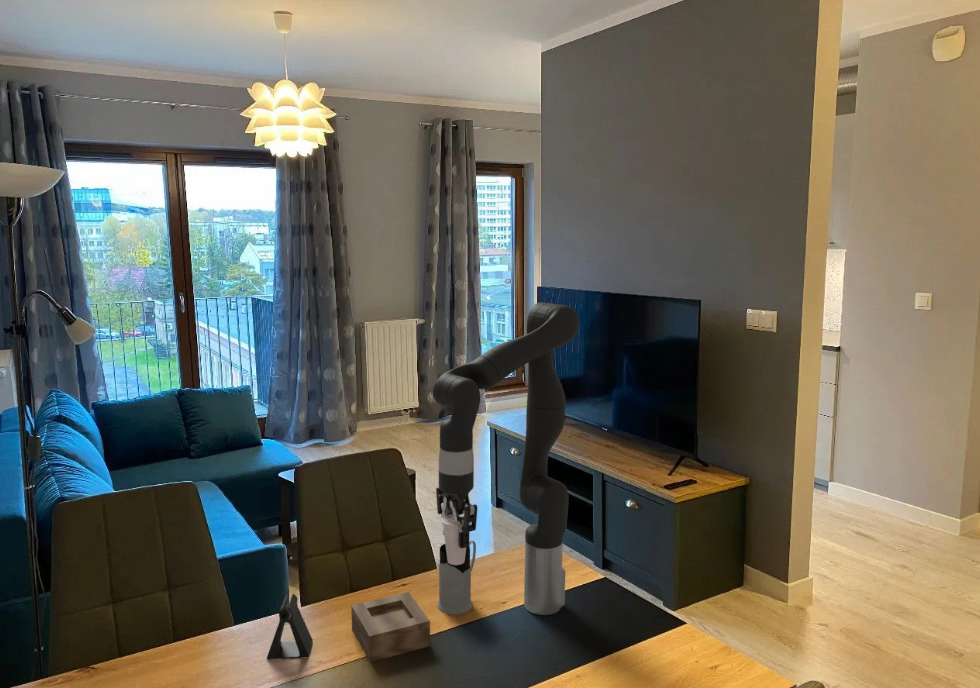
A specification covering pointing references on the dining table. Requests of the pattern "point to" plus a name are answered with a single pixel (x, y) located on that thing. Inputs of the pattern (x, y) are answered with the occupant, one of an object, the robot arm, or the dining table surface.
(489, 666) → the dining table surface
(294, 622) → the phone stand
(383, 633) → the walnut tray
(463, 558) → the smoothie
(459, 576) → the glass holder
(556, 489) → the robot arm
